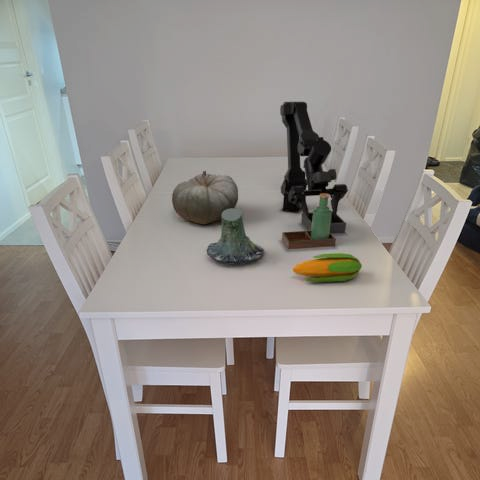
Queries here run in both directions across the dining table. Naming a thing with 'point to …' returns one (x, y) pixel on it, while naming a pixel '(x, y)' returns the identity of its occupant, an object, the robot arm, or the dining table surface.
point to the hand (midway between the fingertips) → (321, 216)
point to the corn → (329, 267)
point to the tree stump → (234, 241)
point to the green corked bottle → (321, 219)
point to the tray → (335, 227)
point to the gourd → (205, 197)
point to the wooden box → (305, 240)
